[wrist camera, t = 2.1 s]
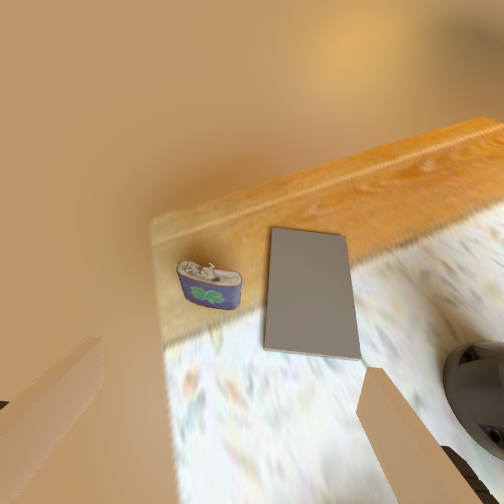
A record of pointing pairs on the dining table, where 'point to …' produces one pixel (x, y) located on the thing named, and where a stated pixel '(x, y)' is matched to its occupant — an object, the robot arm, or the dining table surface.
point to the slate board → (310, 296)
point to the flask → (210, 285)
